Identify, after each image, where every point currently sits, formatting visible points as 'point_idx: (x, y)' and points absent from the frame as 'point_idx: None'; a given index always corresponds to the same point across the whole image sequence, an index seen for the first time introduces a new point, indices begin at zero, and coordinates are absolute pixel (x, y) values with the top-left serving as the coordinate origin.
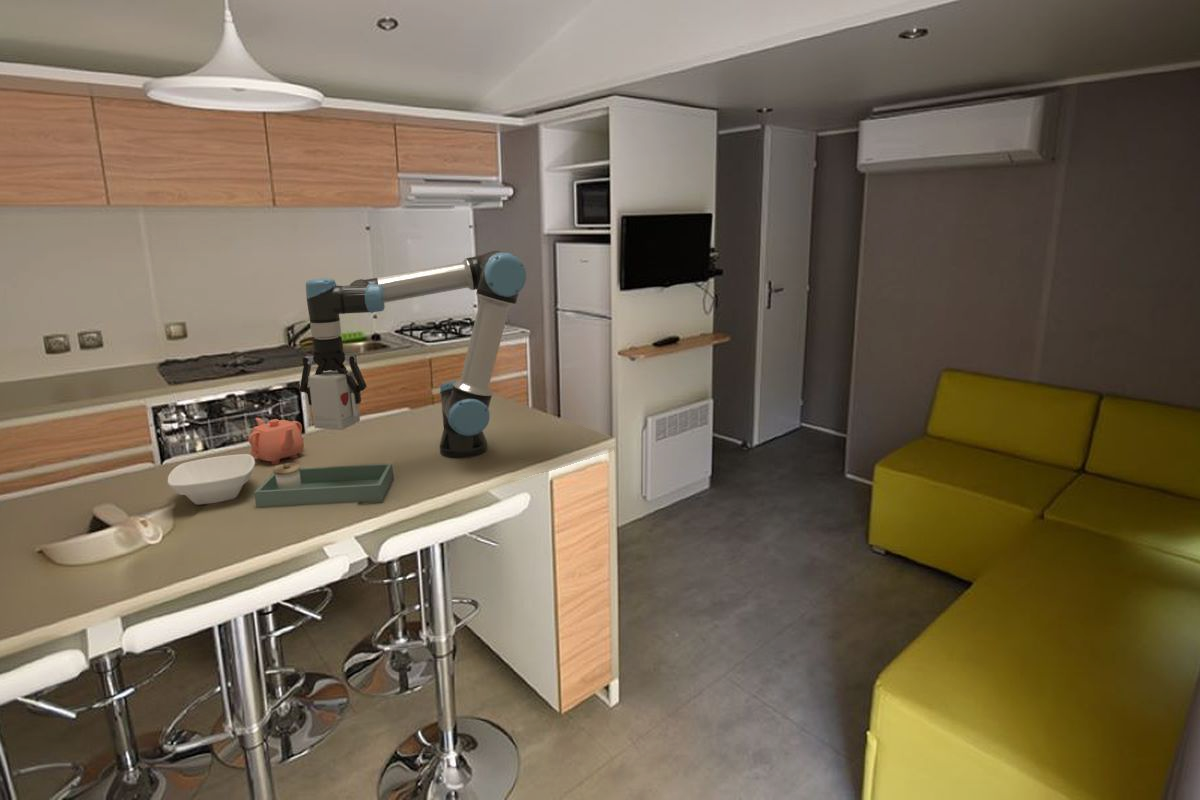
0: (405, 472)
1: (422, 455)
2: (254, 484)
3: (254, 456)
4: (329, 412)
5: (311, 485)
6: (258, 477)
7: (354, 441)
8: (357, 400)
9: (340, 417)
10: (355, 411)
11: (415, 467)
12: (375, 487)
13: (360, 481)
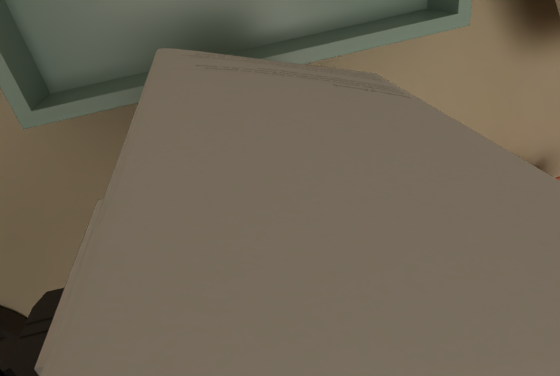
0: (47, 173)
1: None
2: (509, 28)
3: (556, 177)
4: (270, 89)
5: (318, 4)
6: (510, 84)
7: None
8: (49, 314)
9: (150, 71)
10: (93, 221)
11: (40, 216)
12: None
13: (151, 56)
